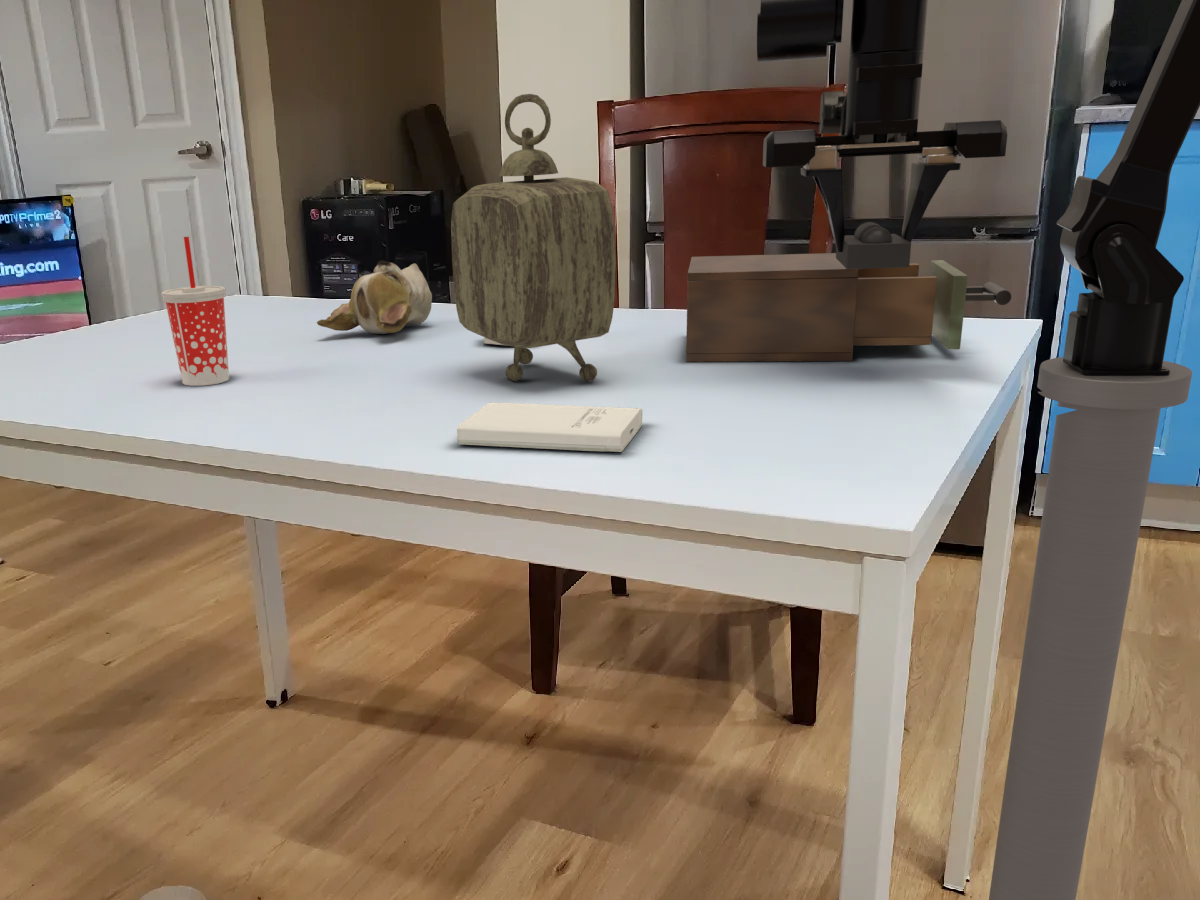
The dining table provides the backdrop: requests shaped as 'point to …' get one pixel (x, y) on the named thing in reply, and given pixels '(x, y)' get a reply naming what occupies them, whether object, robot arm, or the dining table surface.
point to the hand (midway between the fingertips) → (872, 250)
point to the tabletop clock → (534, 255)
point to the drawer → (916, 305)
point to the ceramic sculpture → (384, 301)
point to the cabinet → (770, 308)
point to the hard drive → (551, 427)
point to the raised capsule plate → (874, 249)
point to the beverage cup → (198, 330)
